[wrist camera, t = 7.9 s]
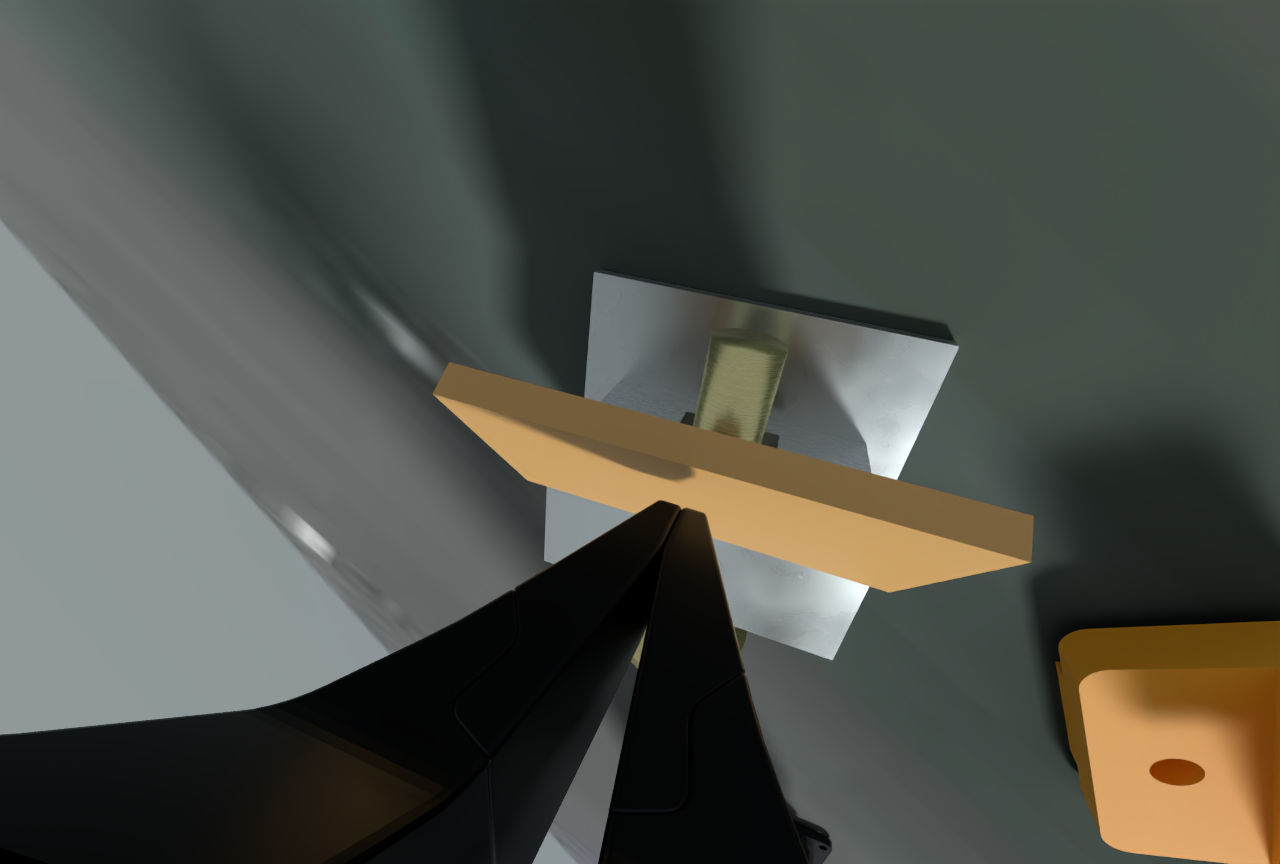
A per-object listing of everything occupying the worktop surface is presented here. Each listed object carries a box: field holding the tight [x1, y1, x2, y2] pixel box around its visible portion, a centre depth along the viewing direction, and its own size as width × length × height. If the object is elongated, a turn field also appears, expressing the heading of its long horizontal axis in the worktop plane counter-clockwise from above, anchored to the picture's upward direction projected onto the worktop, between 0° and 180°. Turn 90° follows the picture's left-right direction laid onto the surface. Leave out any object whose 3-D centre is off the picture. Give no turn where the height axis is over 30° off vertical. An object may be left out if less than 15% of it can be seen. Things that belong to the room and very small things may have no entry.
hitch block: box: [544, 269, 959, 660], centre depth 18 cm, size 10×13×7 cm
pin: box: [631, 328, 789, 668], centre depth 19 cm, size 14×6×6 cm, turn 173°
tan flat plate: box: [433, 362, 1034, 592], centre depth 11 cm, size 6×10×1 cm
